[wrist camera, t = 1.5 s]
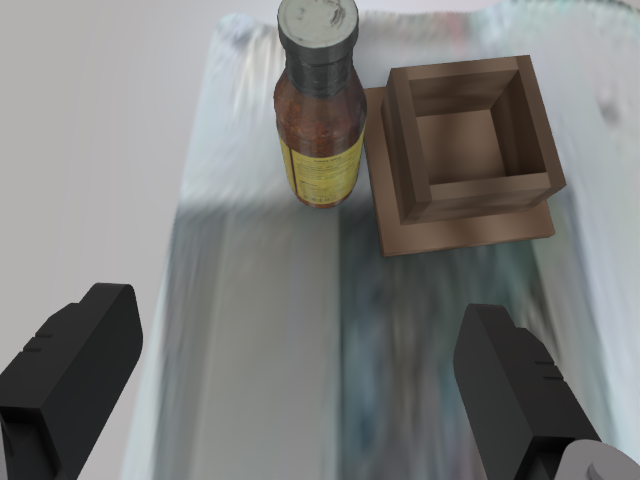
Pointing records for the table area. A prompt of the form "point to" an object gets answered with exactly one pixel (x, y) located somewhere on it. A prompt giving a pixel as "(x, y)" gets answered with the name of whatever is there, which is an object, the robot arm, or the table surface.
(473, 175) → the bottle stand
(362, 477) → the table surface
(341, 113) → the sauce bottle
